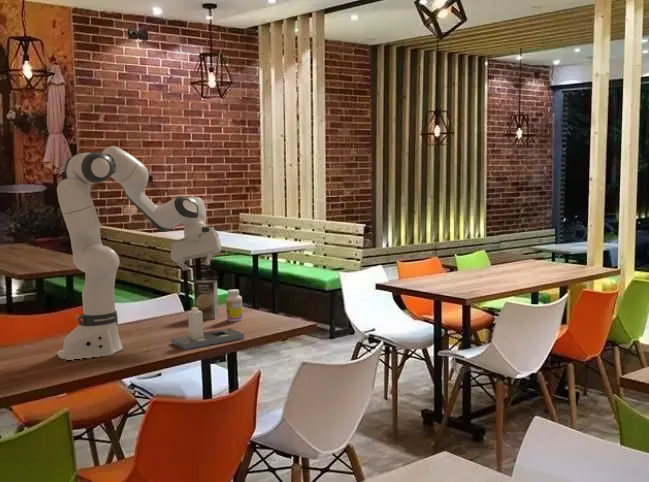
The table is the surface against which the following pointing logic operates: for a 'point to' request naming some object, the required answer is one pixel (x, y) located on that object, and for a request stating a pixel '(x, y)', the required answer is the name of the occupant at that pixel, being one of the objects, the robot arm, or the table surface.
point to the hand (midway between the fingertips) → (196, 267)
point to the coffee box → (206, 298)
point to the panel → (208, 339)
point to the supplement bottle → (234, 306)
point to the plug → (195, 324)
